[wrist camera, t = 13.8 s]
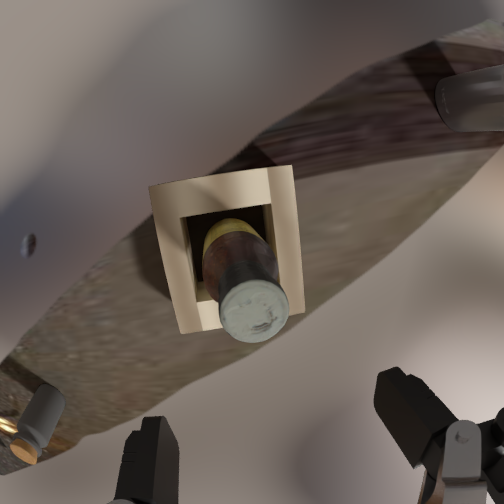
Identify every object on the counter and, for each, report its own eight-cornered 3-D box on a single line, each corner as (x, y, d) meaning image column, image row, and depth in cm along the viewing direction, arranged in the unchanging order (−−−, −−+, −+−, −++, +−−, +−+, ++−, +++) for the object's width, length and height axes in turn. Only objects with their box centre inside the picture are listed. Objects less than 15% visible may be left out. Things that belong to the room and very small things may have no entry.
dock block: (278, 166, 34) (291, 165, 28) (291, 291, 38) (305, 312, 32) (158, 184, 32) (148, 186, 27) (184, 309, 37) (181, 333, 31)
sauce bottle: (251, 269, 37) (293, 369, 18) (200, 263, 35) (193, 363, 16) (260, 217, 35) (320, 274, 16) (208, 209, 34) (206, 259, 15)
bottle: (65, 412, 39) (41, 471, 25) (39, 398, 38) (10, 454, 23) (66, 392, 38) (37, 455, 24) (38, 378, 37) (3, 436, 22)
